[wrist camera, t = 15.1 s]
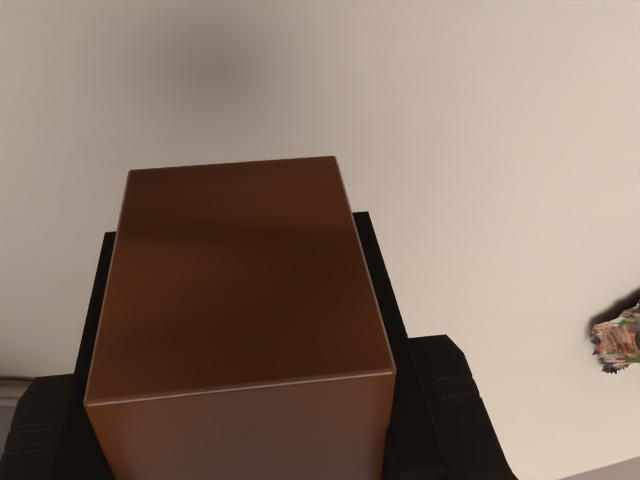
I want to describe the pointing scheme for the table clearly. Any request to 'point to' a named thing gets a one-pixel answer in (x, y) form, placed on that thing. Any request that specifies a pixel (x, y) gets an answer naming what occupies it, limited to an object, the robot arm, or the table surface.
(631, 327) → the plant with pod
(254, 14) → the table surface
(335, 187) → the brown rectangular block
